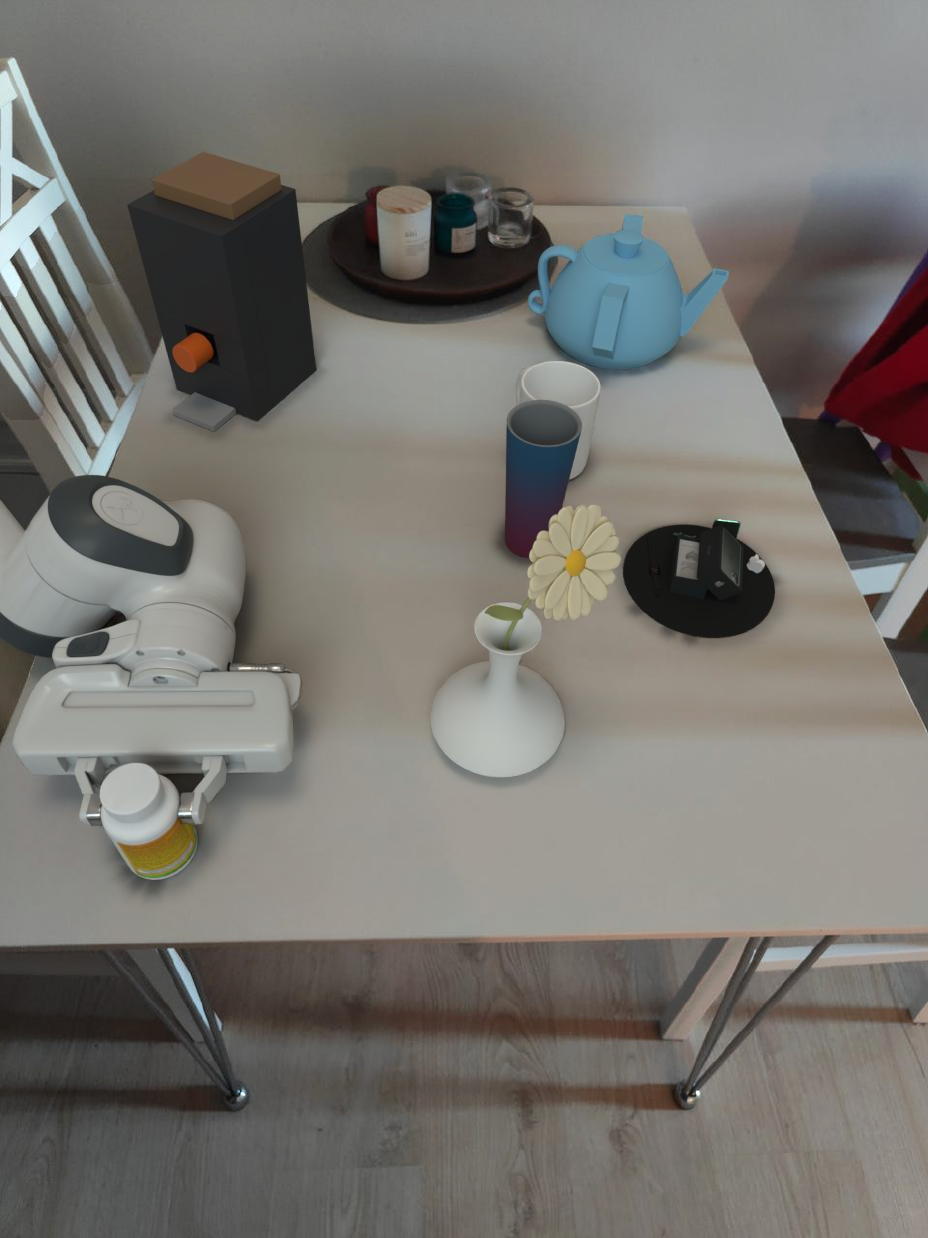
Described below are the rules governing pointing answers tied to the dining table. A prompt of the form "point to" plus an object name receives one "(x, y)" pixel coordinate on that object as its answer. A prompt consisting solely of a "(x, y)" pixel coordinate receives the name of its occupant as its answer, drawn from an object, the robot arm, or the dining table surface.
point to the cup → (537, 468)
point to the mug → (564, 397)
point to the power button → (192, 352)
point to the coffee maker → (227, 284)
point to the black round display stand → (699, 579)
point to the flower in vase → (501, 688)
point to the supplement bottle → (146, 821)
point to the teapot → (619, 299)
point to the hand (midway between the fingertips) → (141, 821)
